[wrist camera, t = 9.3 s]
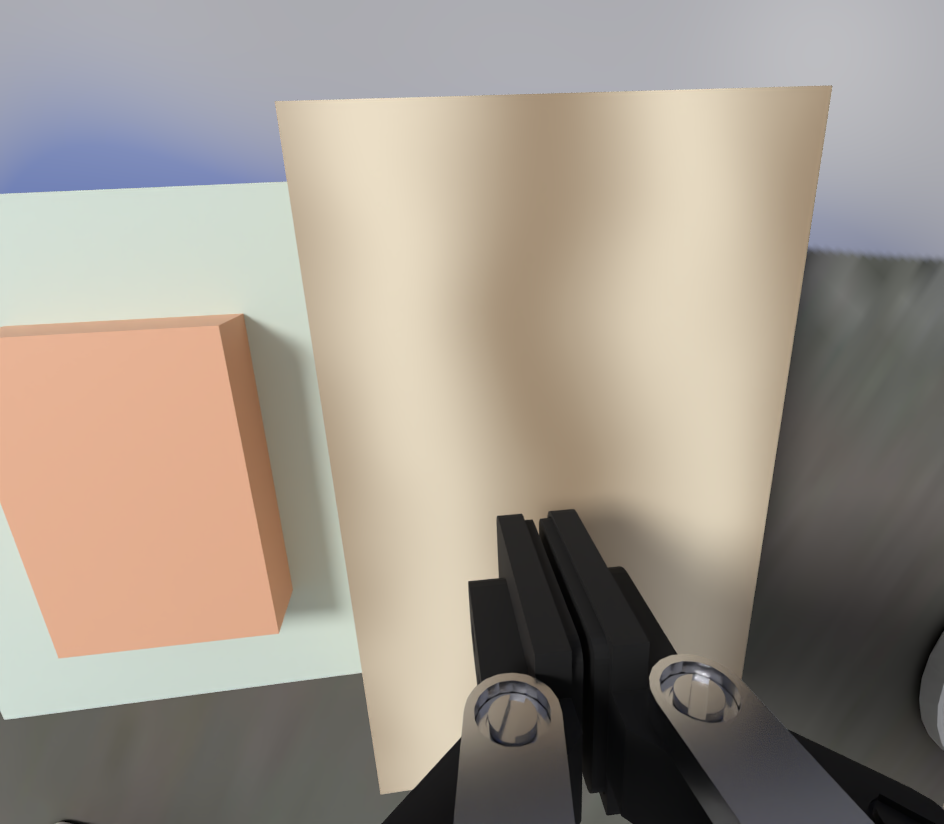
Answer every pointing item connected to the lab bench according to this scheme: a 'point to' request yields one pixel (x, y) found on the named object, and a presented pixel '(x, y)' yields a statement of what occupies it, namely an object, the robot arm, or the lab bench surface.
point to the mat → (281, 402)
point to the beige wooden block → (547, 354)
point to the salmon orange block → (141, 482)
